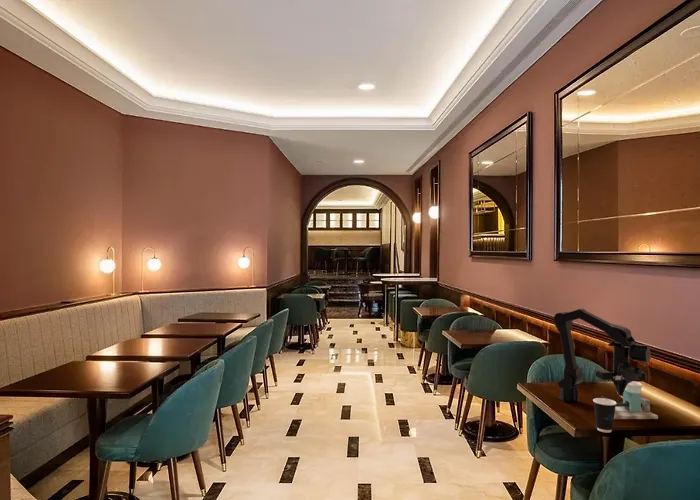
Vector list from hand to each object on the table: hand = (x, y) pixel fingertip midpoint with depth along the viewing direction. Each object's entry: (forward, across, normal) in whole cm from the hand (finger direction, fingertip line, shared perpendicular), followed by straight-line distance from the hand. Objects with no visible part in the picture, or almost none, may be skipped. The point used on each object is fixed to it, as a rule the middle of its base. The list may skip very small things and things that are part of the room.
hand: (620, 395), depth 209 cm
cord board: (+7, +2, 0) cm, 8 cm away
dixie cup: (+8, -18, -19) cm, 27 cm away
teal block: (+6, +5, 0) cm, 8 cm away
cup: (+8, +15, +17) cm, 23 cm away
